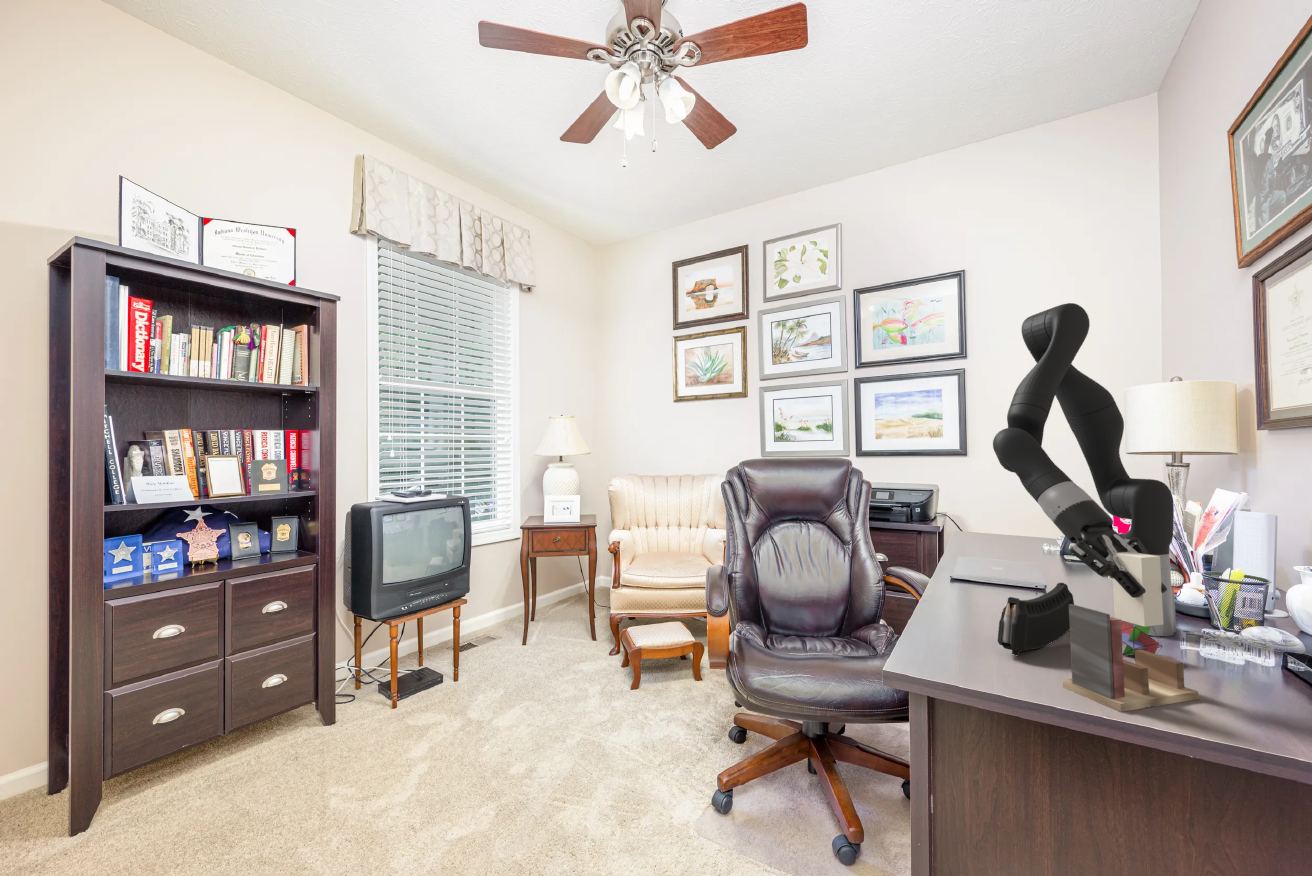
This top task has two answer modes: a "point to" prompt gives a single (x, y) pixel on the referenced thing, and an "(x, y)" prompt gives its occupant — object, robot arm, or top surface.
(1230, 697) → the top surface
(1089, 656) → the book rack
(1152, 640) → the geometric puzzle
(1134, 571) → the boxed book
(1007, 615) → the magazine
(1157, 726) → the top surface
